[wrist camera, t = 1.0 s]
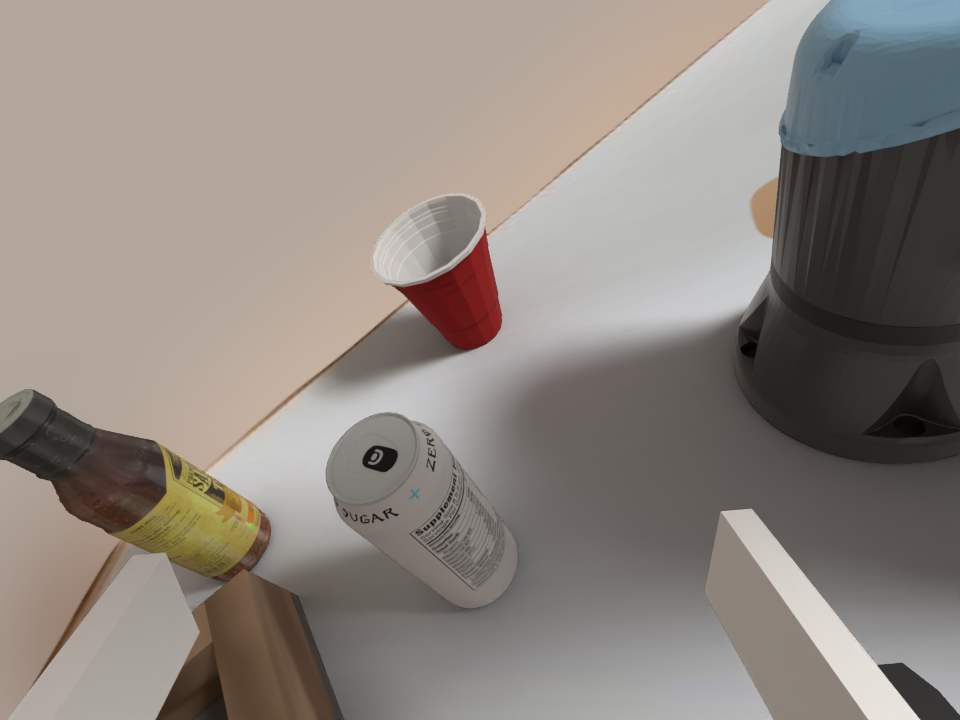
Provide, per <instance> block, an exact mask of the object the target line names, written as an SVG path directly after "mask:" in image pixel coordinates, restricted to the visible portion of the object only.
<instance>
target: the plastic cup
mask: <svg viewBox="0 0 960 720" xmlns="http://www.w3.org/2000/svg"><path fill="white" fill-rule="evenodd" d="M485 223H486V212H485V210H484V208H483V206H482V204H481V202H480V200H479V199H477V198H474V197H472V196H470V195H468V194H445V195H441V196H438V197H435V198H431V199H428V200H425V201H424V202H422V203H420V204H418V205H416V206H414V207H412V208H411V209H409V210H407V211H405V212H404V213H403V214H402V215H401V216H400V217H398V218H397V219H396V220H395V221H393V222H392V223H391V224H390V225H389V226H388V227H387V228H386V229H385V231H384V232H383V233H382V235H381V236H380V237H379V238H378V240H377V241H376V243H375V245H374V248H373V250H372V253H371V256H370V265H371V272H372V274H374V275H375V276H376V277H377V278H378V279H379V280H381V281H382V282H383V283H384V284H386V285H392V286H393V287H395V288H396V289H397V290H399V291H400V292H401V293H403V294H404V295H405V296H406V297H407V298H408V299H409V301H410V302H411V303H412V304H413V305H414V306H415V307H416V308H417V309H418V310H419V311H420V312H421V313H422V314H423V315H424V317H425V318H426V319H427V320H428V321H429V322H430V323H431V324H432V325H433V326H435V327H436V328H437V329H438V330H439V331H440V333H441V334H442V335H443V336H444V337H445V338H446V339H447V340H448V341H449V342H450V343H451V344H452V345H454V346H455V347H456V348H461V349H465V350H466V349H474V348H478V347H480V346H482V345H485V344H487V343H488V342H489V341H490V340H492V339H493V338H494V337H495V336H496V335H497V333H498V331H499V330H500V328H501V323H502V318H501V317H502V313H501V309H500V304H499V300H498V290H497V286H496V281H495V277H494V272H493V268H492V263H491V259H490V254H489V250H488V242H487V238H486V235H487V234H486V230H485Z"/></svg>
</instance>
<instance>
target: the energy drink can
mask: <svg viewBox="0 0 960 720" xmlns="http://www.w3.org/2000/svg"><path fill="white" fill-rule="evenodd" d="M326 481H327V485H328V488H329V490H330V492H331V493H332V495H333V496H334V502H335V506H336V509H337V512H338V514H339V516H340V517H341V519H342V520H343V521H344V522H345V523H346V524H347V525H348V526H349V527H351V528H352V529H353V530H355V531H356V532H357V533H359V534H360V535H361V536H363V537H364V538H365V539H367V540H368V541H369V542H371V543H372V544H373V545H374V546H376V547H377V548H378V549H380V550H381V551H382V552H384V553H385V554H386V555H388V556H389V557H390V558H392V559H393V560H394V561H396V562H397V563H398V564H400V565H401V566H402V567H404V568H405V569H406V570H408V571H409V572H410V573H412V574H413V575H414V576H416V577H417V578H418V579H420V580H421V581H422V582H424V583H425V584H426V585H427V586H429V587H430V588H431V589H433V590H434V591H435V592H437V593H438V594H439V595H441V596H442V597H443V598H445V599H446V600H447V601H449V602H450V603H452V604H454V605H456V606H459V607H462V608H478V607H482V606H485V605H487V604H490V603H491V602H493V601H494V600H496V599H497V598H499V597H500V596H501V595H502V594H503V593H504V592H505V591H506V589H507V588H508V586H509V585H510V583H511V582H512V579H513V577H514V575H515V572H516V568H517V563H518V550H517V545H516V541H515V538H514V536H513V535H512V533H511V531H510V530H509V528H508V527H507V526H506V525H505V523H504V522H503V521H502V519H501V518H500V517H499V515H498V514H497V513H496V511H495V510H494V509H493V507H492V506H491V505H490V503H489V502H488V501H487V499H486V498H485V497H484V496H483V494H482V493H481V492H480V490H479V489H478V488H477V486H476V485H475V484H474V482H473V481H472V480H471V478H470V477H469V476H468V474H467V473H466V472H465V470H464V469H463V468H462V467H461V465H460V464H459V463H458V461H457V460H456V459H455V457H454V456H453V455H452V453H451V452H450V451H449V449H448V448H447V447H446V445H445V444H444V443H443V441H442V440H441V439H440V438H439V436H438V435H437V434H436V433H435V432H434V431H433V430H432V429H431V428H430V427H428V426H426V425H425V424H422V423H419V422H416V421H410V420H409V419H408V418H406V417H405V416H403V415H400V414H397V413H389V412H387V413H379V414H375V415H372V416H369V417H367V418H365V419H363V420H361V421H359V422H358V423H356V424H355V425H354V426H352V427H351V428H350V429H349V430H347V431H346V433H345V434H344V435H343V436H342V437H341V438H340V439H339V441H338V442H337V443H336V445H335V446H334V448H333V450H332V452H331V454H330V457H329V459H328V462H327V467H326Z"/></svg>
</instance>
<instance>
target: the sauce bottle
mask: <svg viewBox="0 0 960 720" xmlns="http://www.w3.org/2000/svg"><path fill="white" fill-rule="evenodd" d="M0 460H7V461H9V462H11V463H14V464H16V465H18V466H20V467H22V468H24V469H26V470H28V471H30V472H32V473H35V474H36V476H37V477H38V478H40V479H45V480H50V481H51V482H52V484H53V486H54V488H55V490H56V493H57V495H58V496H59V500H60V502H61V503H62V504H63V506H64V507H65V509H66V511H68V512H69V513H70V514H72V515H74V516H76V517H77V518H78V519H80V520H82V521H85V522H89V523H91V524H94V525H95V526H97V527H100V528H102V529H104V531H105V532H107V533H108V534H110V535H113V536H115V537H117V538H119V539H121V540H124V541H126V542H128V543H130V544H133V545H135V546H137V547H139V548H142V549H144V550H146V551H148V552H151V553H166V554H167V557H168V559H169V561H171V562H173V563H175V564H178V565H180V566H182V567H184V568H187V569H189V570H191V571H194V572H196V573H198V574H201V575H203V576H206V577H211V578H213V579H215V580H220V581H227V580H228V581H229V580H231V579H232V578H233V577H234V576H236V575H237V574H238V573H239V572H241V571H242V570H243V569H244V570H246V571H249V570H250V569H252V568H253V567H254V565H255V564H256V563H257V562H258V561H259V559H260V558H261V556H262V554H263V553H264V551H265V549H266V547H267V545H268V543H269V540H270V535H271V534H270V533H271V527H270V523H269V520H268V518H267V517H266V515H265V513H262V512H261V510H260V509H258V508H257V506H256V505H254V504H253V503H252V502H250V501H248V500H247V499H245V498H243V497H242V496H240V495H239V494H237V493H236V492H234V491H233V490H231V489H230V488H228V487H226V486H225V485H223V484H222V483H220V482H219V481H217V480H216V479H214V478H213V477H211V476H209V475H207V474H206V473H205V472H203V471H201V470H199V469H198V468H197V467H195V466H193V465H192V464H190V463H189V462H187V461H185V460H184V459H182V458H180V457H179V456H177V455H176V454H174V453H173V452H171V451H170V450H168V449H167V448H165V447H163V446H162V445H160V444H158V443H157V442H155V441H153V440H148V439H143V438H138V437H133V436H128V435H124V434H119V433H114V432H110V431H105V430H101V429H97V428H94V427H92V426H91V425H89V424H86V423H84V422H82V421H80V420H78V419H77V418H75V417H73V416H72V415H70V414H69V413H67V412H65V411H63V410H61V409H59V408H57V406H56V405H55V403H54V402H53V401H52V400H51V399H50V398H48V397H46V396H44V395H42V394H40V393H38V392H37V391H35V390H32V389H25V390H23V391H20V392H18V393H16V394H14V395H12V396H10V397H9V398H7V399H6V400H4V401H3V402H1V403H0Z"/></svg>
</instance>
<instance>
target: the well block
mask: <svg viewBox="0 0 960 720" xmlns="http://www.w3.org/2000/svg"><path fill="white" fill-rule="evenodd" d="M191 613H192V615H193V617H194V620H195V622H196V624H197V627H198V629H199V631H200V633H199V635H198V637H197V639H196V641H195V643H194V645H193V647H192V649H191V651H190V653H189V655H188V657H187V659H186V661H185V663H184V665H183V666H182V668H181V670H180V672H179V674H178V676H177V678H176V680H175V682H174V684H173V686H172V688H171V690H170V692H169V694H168V696H167V698H166V700H165V702H164V704H163V706H162V708H161V710H160V712H159V714H158V716H157V718H156V720H344V719H343V716H342V713H341V711H340V708H339V705H338V703H337V700H336V697H335V695H334V692H333V689H332V687H331V684H330V681H329V679H328V676H327V673H326V670H325V668H324V665H323V662H322V660H321V657H320V654H319V652H318V649H317V646H316V644H315V641H314V638H313V636H312V633H311V630H310V628H309V625H308V622H307V620H306V617H305V614H304V612H303V609H302V606H301V603H300V601H299V598H298V596H297V595H295V594H293V593H291V592H289V591H287V590H285V589H283V588H281V587H279V586H277V585H275V584H273V583H271V582H269V581H267V580H265V579H263V578H260V577H258V576H256V575H254V574H252V573H250V572H248V571H246V570H244V569H243V570H242V571H241V572H239V573H238V574H237V575H236V576H234V577H233V578H232V579H231V580H230V581H228V582H227V583H226V584H225V585H224V586H222V587H221V588H220V589H219V590H217V591H216V592H215V593H214V594H213V595H211V596H210V597H209V598H208V599H206V600H205V601H204V602H203V603H202V604H200V605H199V606H198V607H197V608H196V609H194V610H193V611H192V612H191Z"/></svg>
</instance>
